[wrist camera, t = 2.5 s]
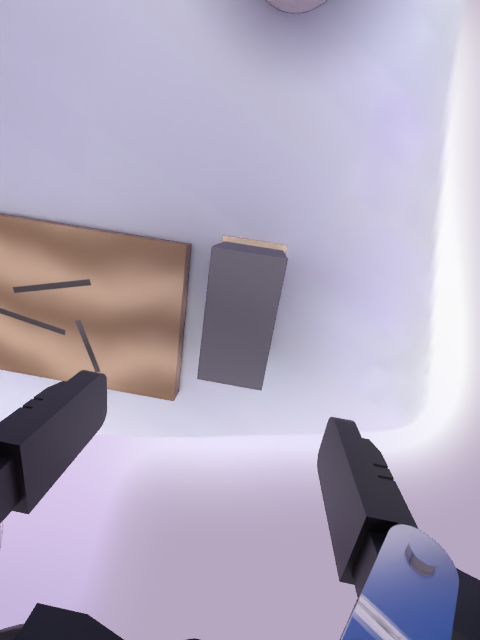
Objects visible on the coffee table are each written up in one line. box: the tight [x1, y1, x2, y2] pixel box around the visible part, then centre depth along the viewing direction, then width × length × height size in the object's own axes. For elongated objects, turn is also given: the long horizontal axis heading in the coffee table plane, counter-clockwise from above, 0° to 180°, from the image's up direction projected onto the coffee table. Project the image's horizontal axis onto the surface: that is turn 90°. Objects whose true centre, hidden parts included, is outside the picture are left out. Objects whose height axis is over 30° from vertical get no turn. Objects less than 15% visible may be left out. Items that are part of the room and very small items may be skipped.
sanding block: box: [197, 235, 288, 390], centre depth 22 cm, size 10×5×6 cm, turn 172°
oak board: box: [0, 214, 191, 401], centre depth 25 cm, size 14×22×2 cm, turn 82°
